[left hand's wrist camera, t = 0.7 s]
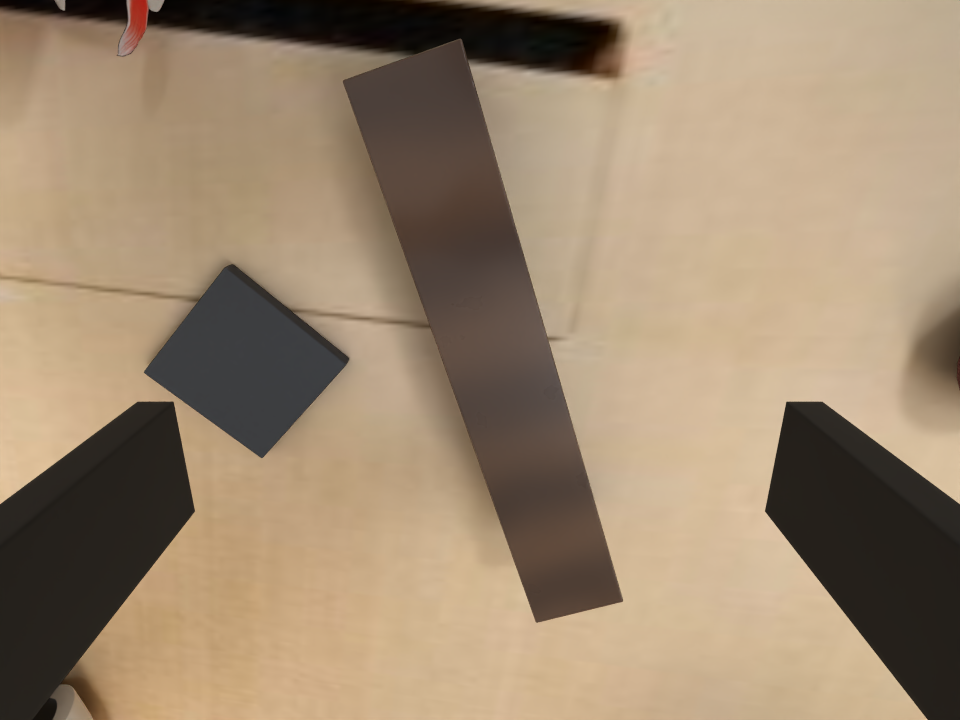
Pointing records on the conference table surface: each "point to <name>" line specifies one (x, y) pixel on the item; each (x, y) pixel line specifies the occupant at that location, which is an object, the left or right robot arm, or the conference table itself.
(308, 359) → the coaster
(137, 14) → the fish
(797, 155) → the conference table surface
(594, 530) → the beam
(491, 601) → the conference table surface
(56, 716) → the projector
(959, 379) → the dark red ball
